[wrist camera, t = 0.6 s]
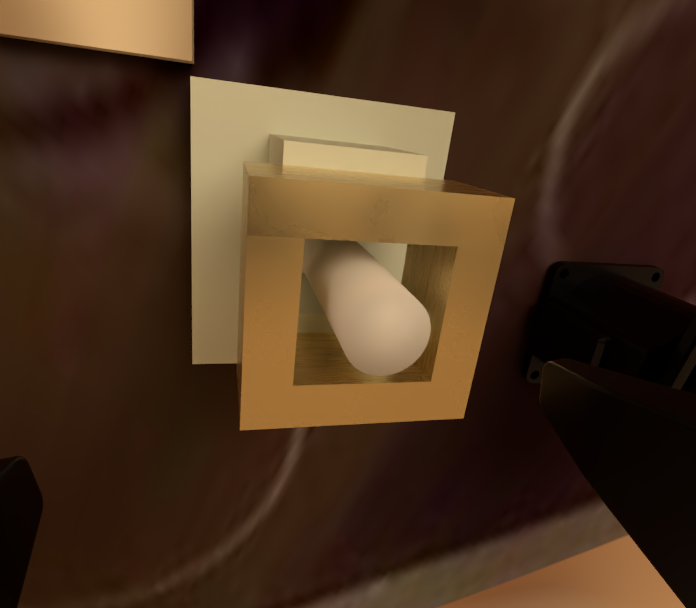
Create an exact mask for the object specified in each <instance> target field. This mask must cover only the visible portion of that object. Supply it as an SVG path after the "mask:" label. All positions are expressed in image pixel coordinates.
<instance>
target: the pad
mask: <svg viewBox="0 0 696 608" xmlns="http://www.w3.org/2000/svg"><path fill="white" fill-rule="evenodd" d="M0 36H2V37H9V38H16V39H23V40H30V41H36V42H43V43H50V44H57V45H64V46H71V47H78V48H85V49H92V50H99V51H106V52H113V53H120V54H127V55H134V56H141V57H148V58H155V59H162V60H169V61H176V62H183V63H190V64H194V0H0Z"/></svg>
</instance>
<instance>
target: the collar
mask: <svg viewBox="0 0 696 608" xmlns="http://www.w3.org/2000/svg"><path fill="white" fill-rule="evenodd" d="M514 202H515V198H512V197H509V196H506V195H502V194H499V193H495V192H492V191H489V190H485V189H482V188H479V187H475V186H472V185H469V184H465V183H462V182H458V181H451V180H441V179H430V178H420V177H409V176H398V175H388V174H377V173H367V172H356V171H345V170H335V169H324V168H314V167H303V166H292V165H282V164H271V163H261V162H250V161H243V183H242V215H241V247H240V279H239V311H238V343H237V385H238V404H239V424H240V430H257V429H275V428H294V427H312V426H331V425H349V424H368V423H386V422H405V421H423V420H442V419H460V418H464V414H465V409H466V405H467V401H468V397H469V392H470V388H471V384H472V380H473V376H474V371H475V367H476V363H477V359H478V354H479V350H480V346H481V342H482V337H483V333H484V329H485V325H486V320H487V316H488V312H489V308H490V303H491V299H492V295H493V291H494V286H495V282H496V278H497V274H498V270H499V265H500V261H501V257H502V253H503V248H504V244H505V240H506V236H507V231H508V227H509V223H510V219H511V214H512V210H513V206H514ZM305 239H324V240H343V241H362V242H380V243H399V244H407V250H406V256H405V263H404V269H403V275H402V281H401V284H402V285H403V286H404V287H405V288H406V289H407V290H408V291H409V292H410V293H411V294H412V295H413V296H414V297H415V298H416V299H417V300H418V301H419V302H420V303H421V304H422V305H423V306H424V308H425V309H426V311H427V313H428V315H429V318H430V324H431V331H430V337H429V341H428V344H427V346H426V348H425V350H424V351H423V353H422V354H421V356H420V357H419V358H418V359H417V360H416V361H415V362H414V363H413V364H412V365H410V366H409V367H408V368H406V369H404V370H402V371H400V372H398V373H395V374H391V375H386V376H374V375H369V374H366V373H364V372H361V371H360V370H358V369H356V368H355V367H354V366H353V365H352V364H351V363H350V362H349V360H348V358H347V357H346V355H345V353H344V351H343V349H342V347H341V345H340V343H339V341H338V339H337V337H336V335H335V333H297V327H298V315H299V303H300V290H301V278H302V265H303V253H304V241H305Z"/></svg>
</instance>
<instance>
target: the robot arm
mask: <svg viewBox="0 0 696 608" xmlns="http://www.w3.org/2000/svg"><path fill="white" fill-rule="evenodd" d="M562 270H563V273H562V274H561V275H560V272H561V271H562ZM663 278H664V271H663V269H661V268H658V267H656V266H652V265H631V264H610V263H589V262H568V261H560V262H557V263H555V264H554V265H553V266H552V268H551V270H550V273H549V276H548V280H547V284H546V287H545V291H544V294H543V298H542V302H541V305H540V309H539V312H538V316H537V320H536V323H535V327H534V331H533V334H532V338H531V341H530V345H529V349H528V352H527V356H526V359H525V363H524V367H523V370H522V376H523V378H524V379H526V380H527V381H528V382H529V383H541V388H540V398H539V399H540V406H541V409H542V411H543V413H544V414H545V416H546V418H547V419H548V421H549V422H550V424H551V426H552V427H553V429H554V430H555V432H556V433H557V435H558V437H559V438H560V440H561V441H562V443H563V444H564V446H565V448H566V449H567V451H568V452H569V454H570V455H571V457H572V459H573V460H574V462H575V463H576V465H577V466H578V468H579V469H580V471H581V472H582V474H583V475H584V477H585V478H586V480H587V481H588V482H589V484H590V485H591V486H592V488H593V489H594V491H595V492H596V493H597V494H598V496H599V497H600V498H601V499H602V501H603V502H604V503H605V505H606V506H607V507H608V508H609V510H610V511H611V512H612V514H613V515H614V516H615V517H616V519H617V520H618V521H619V523H620V524H621V525H622V526H623V528H624V529H625V530H626V532H627V533H628V534H629V535H630V537H631V538H632V539H633V541H634V542H635V543H636V544H637V546H638V547H639V548H640V550H641V551H642V552H643V553H644V555H645V556H646V557H647V558H648V560H649V561H650V562H651V564H652V565H653V566H654V567H655V569H656V570H657V571H658V573H659V574H660V575H661V576H662V578H663V579H664V580H665V582H666V583H667V584H668V585H669V587H670V588H671V589H672V590H673V592H674V593H675V594H676V596H677V597H678V598H679V600H680V601H681V602H682V603H683V604H684V606H685V607H686V608H696V306H695V305H692V304H690V303H687V302H685V301H683V300H680V299H678V298H675V297H673V296H670V295H668V294H666V293H663V292H661V291H659V288H660V286H661V283H662V280H663ZM532 372H534V373H533V374H532ZM531 374H532V375H531ZM42 510H43V499H42V494H41V492H40V489H39V487H38V484H37V482H36V480H35V477H34V475H33V472H32V470H31V468H30V465H29V463H28V461H27V460H26V459H25V458H24V457H21V456H15V457H9V458H4V459H0V608H17V606H18V602H19V599H20V595H21V592H22V588H23V584H24V580H25V576H26V572H27V569H28V565H29V561H30V557H31V553H32V549H33V545H34V541H35V538H36V534H37V530H38V526H39V522H40V518H41V514H42Z"/></svg>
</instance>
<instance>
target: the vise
mask: <svg viewBox="0 0 696 608" xmlns="http://www.w3.org/2000/svg"><path fill="white" fill-rule="evenodd" d="M190 91H191V239H192V364H225V363H237V343H238V311H239V279H240V247H241V215H242V183H243V161H250V162H261V163H271V164H282V165H292V166H303V167H314V168H324V169H335V170H345V171H356V172H367V173H377V174H388V175H398V176H409V177H420V178H430V179H441V180H443V179H444V173H445V168H446V162H447V156H448V151H449V145H450V140H451V134H452V129H453V123H454V117H455V112H448V111H440V110H433V109H426V108H419V107H411V106H404V105H397V104H389V103H382V102H375V101H367V100H360V99H353V98H345V97H338V96H331V95H324V94H316V93H309V92H302V91H294V90H287V89H280V88H272V87H265V86H258V85H251V84H243V83H236V82H229V81H221V80H214V79H207V78H199V77H192V76H190ZM406 250H407V244H399V243H380V242H362V241H343V240H324V239H305V241H304V253H303V265H302V278H301V290H300V303H299V315H298V327H297V333H335V335H336V337H337V339H338V341H339V343H340V345H341V347H342V349H343V351H344V353H345V355H346V357H347V358H348V360H349V362H350V363H351V364H352V365H353V366H354V367H355V368H356V369H358V370H360V371H361V372H364V373H366V374H369V375H374V376H386V375H391V374H395V373H398V372H400V371H402V370H404V369H406V368H408V367H409V366H410V365H412V364H413V363H414V362H415V361H416V360H417V359H418V358H419V357H420V356H421V354H422V353H423V351H424V350H425V348H426V346H427V344H428V341H429V337H430V331H431V324H430V318H429V315H428V313H427V311H426V309H425V308H424V306H423V305H422V304H421V303H420V302H419V301H418V300H417V299H416V298H415V297H414V296H413V295H412V294H411V293H410V292H409V291H408V290H407V289H406V288H405V287H404V286H403V285H402V284H401V281H402V275H403V269H404V263H405V256H406Z"/></svg>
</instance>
